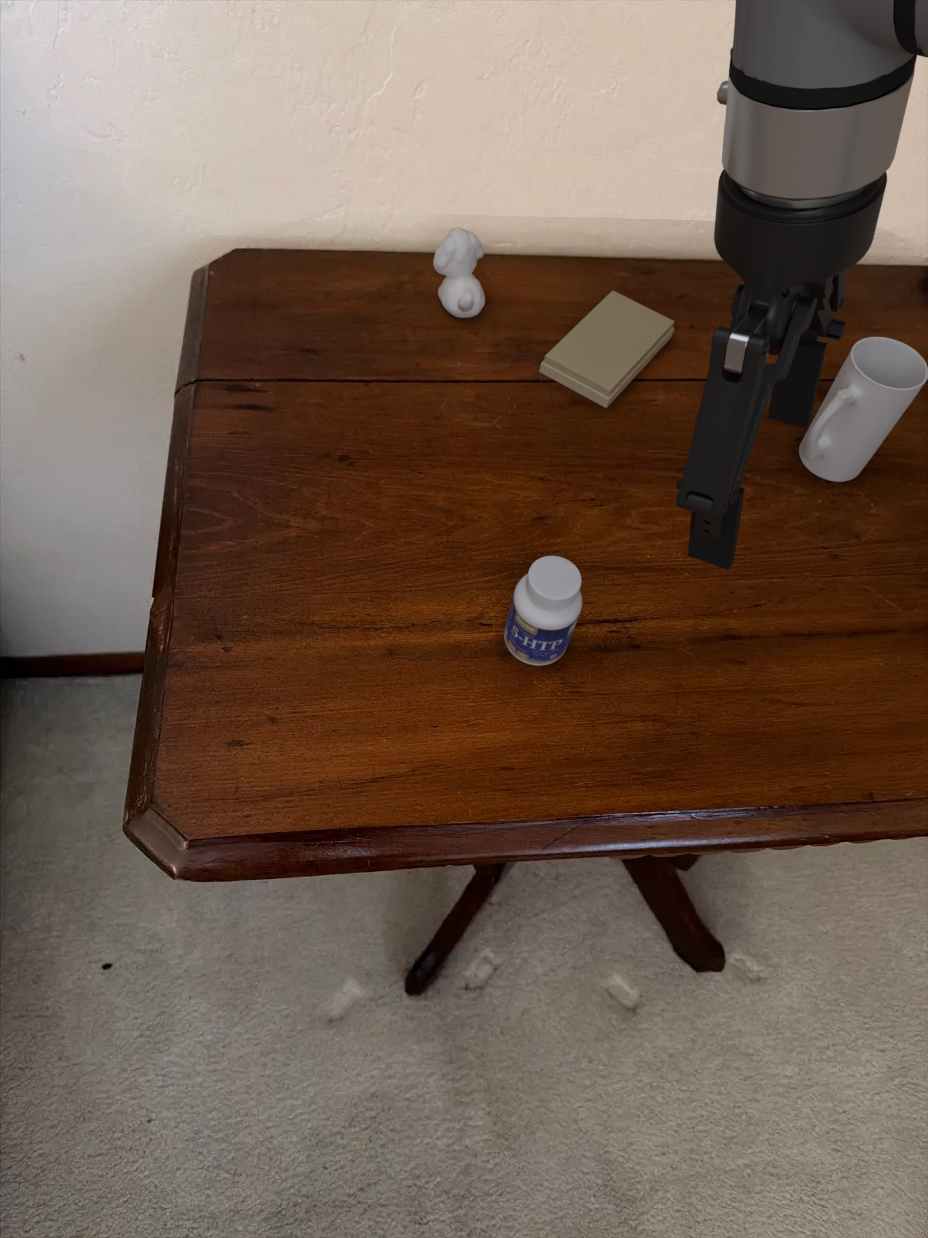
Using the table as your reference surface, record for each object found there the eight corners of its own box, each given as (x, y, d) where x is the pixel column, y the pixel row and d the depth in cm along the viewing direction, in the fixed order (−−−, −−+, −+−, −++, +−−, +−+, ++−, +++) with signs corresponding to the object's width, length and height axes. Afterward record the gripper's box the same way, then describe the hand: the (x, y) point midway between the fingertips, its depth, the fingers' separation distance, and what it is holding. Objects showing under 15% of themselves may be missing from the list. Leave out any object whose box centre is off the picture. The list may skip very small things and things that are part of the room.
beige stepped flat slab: (671, 337, 94) (677, 320, 92) (606, 408, 87) (611, 392, 85) (607, 304, 96) (612, 288, 94) (538, 371, 89) (542, 355, 87)
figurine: (464, 278, 96) (471, 210, 90) (499, 322, 93) (509, 255, 86) (420, 289, 95) (424, 221, 88) (454, 335, 91) (461, 267, 84)
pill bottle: (497, 658, 71) (511, 596, 63) (510, 606, 73) (526, 540, 66) (561, 674, 70) (583, 614, 63) (572, 621, 73) (595, 557, 66)
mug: (828, 424, 89) (886, 327, 79) (878, 468, 86) (945, 373, 76) (757, 461, 85) (808, 363, 75) (807, 507, 82) (867, 413, 72)
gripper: (814, 39, 48) (765, 357, 65) (609, 306, 37) (615, 604, 54) (962, 51, 45) (870, 382, 62) (786, 346, 34) (733, 648, 51)
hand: (751, 486), depth 58 cm, fingers open, 13 cm apart
